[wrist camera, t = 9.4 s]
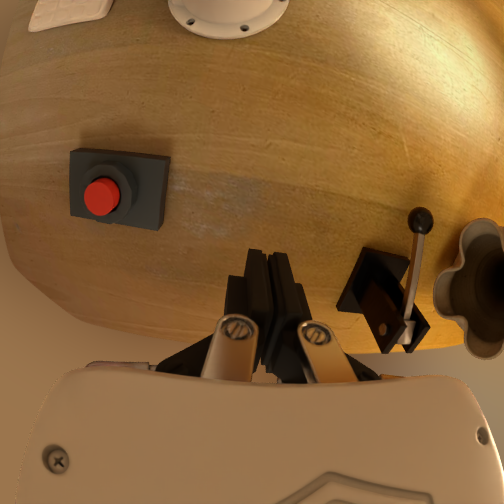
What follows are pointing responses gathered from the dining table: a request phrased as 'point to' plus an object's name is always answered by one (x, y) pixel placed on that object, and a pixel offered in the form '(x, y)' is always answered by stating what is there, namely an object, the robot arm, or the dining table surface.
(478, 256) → the vase
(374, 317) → the bracket
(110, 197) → the button
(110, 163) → the button box
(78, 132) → the dining table surface
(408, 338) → the lever
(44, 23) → the calculator
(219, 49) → the dining table surface
